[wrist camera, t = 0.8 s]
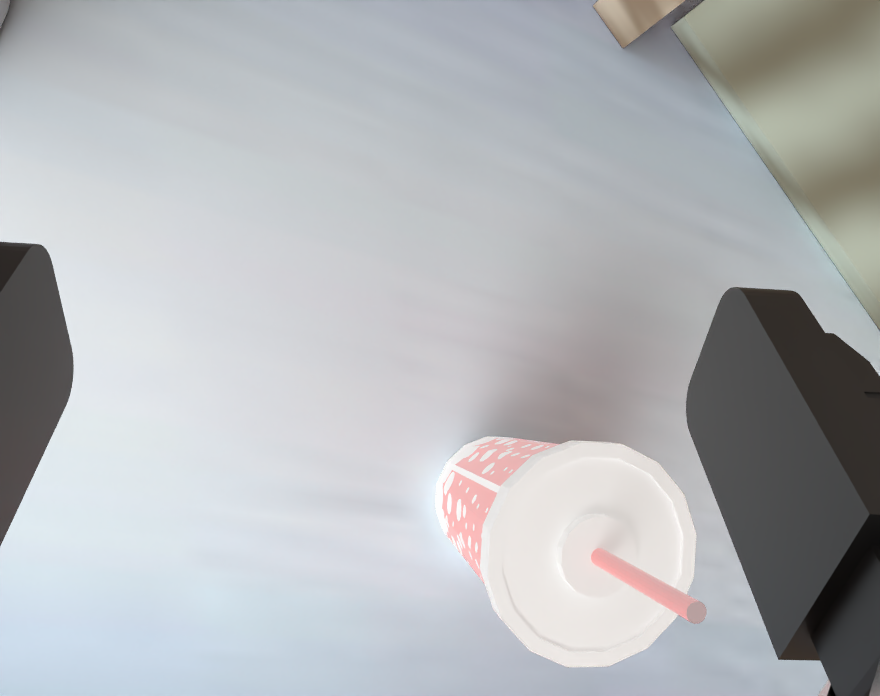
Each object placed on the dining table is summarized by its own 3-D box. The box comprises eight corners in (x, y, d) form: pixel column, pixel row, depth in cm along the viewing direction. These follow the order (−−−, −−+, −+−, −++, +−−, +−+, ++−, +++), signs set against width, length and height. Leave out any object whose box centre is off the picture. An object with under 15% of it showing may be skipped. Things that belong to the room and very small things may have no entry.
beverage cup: (508, 610, 31) (719, 813, 18) (380, 517, 30) (501, 656, 16) (600, 478, 32) (869, 572, 18) (479, 382, 31) (672, 408, 17)
